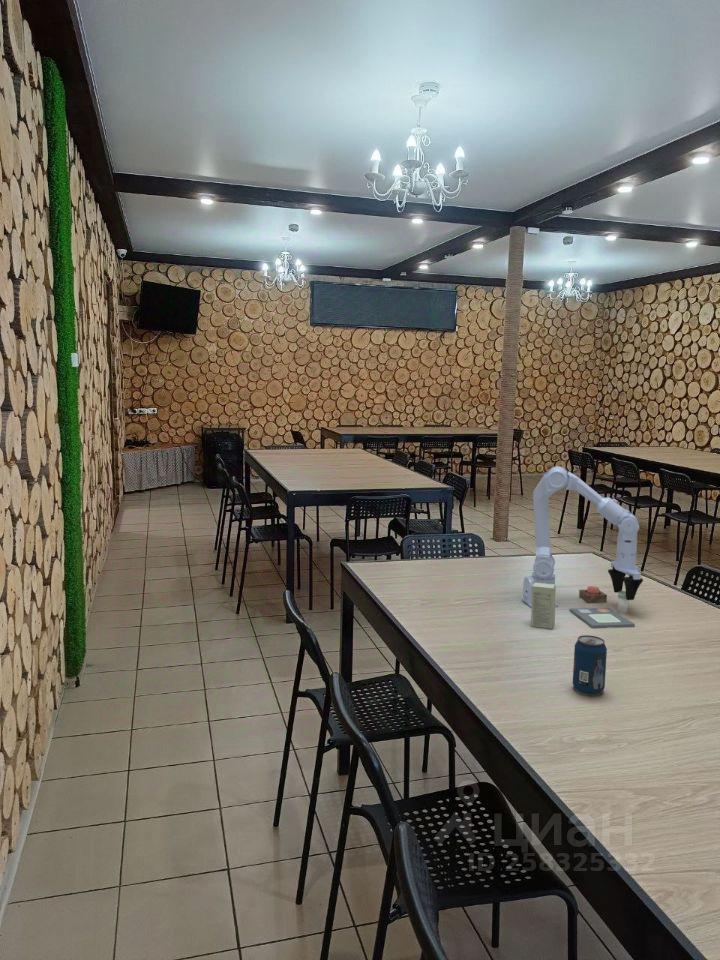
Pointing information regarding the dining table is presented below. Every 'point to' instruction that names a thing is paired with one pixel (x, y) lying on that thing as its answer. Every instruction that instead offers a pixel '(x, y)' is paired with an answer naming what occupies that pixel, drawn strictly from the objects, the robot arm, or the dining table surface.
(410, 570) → the dining table surface
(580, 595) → the button box
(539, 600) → the skincare box
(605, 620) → the picture board
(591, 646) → the soda can
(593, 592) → the button
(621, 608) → the pale green cylinder
